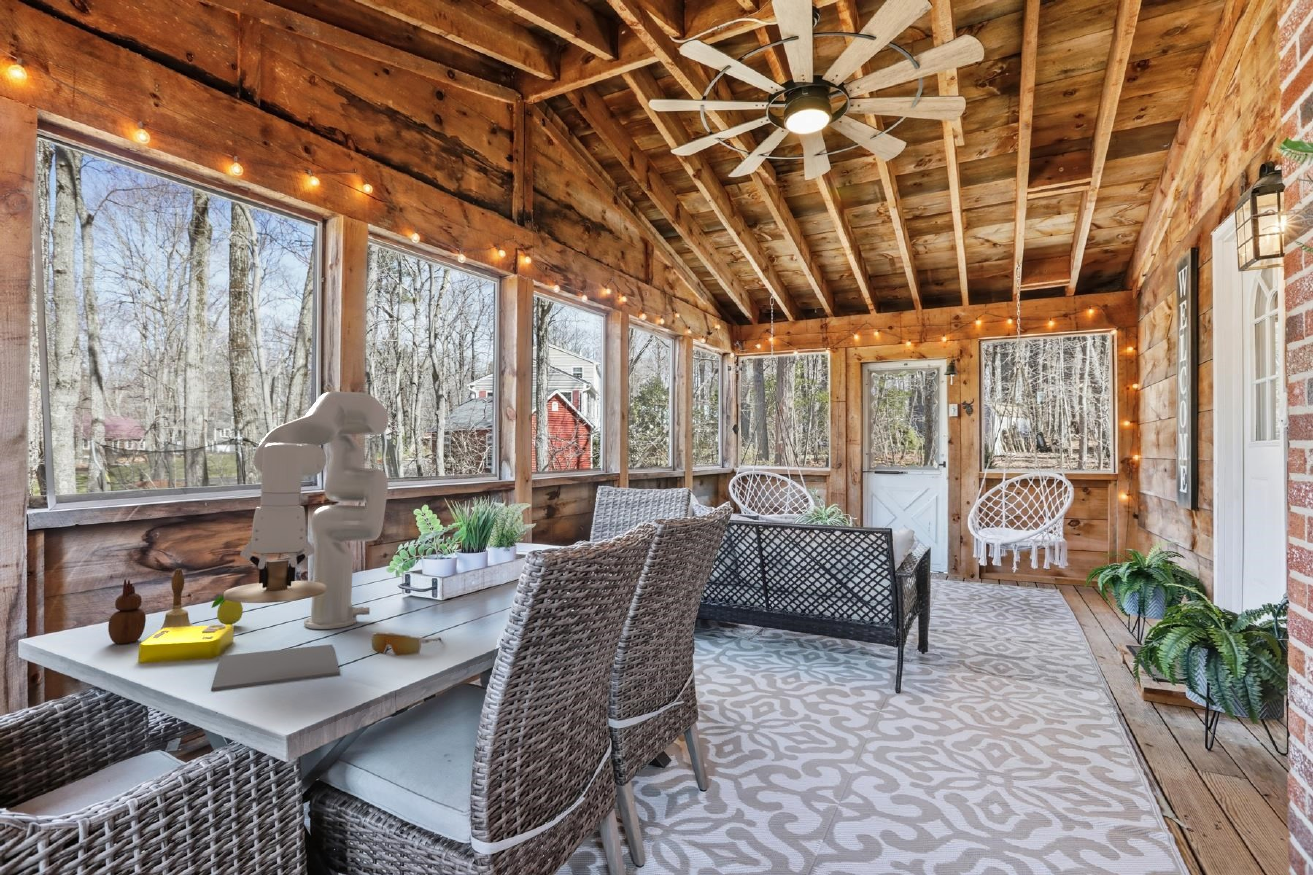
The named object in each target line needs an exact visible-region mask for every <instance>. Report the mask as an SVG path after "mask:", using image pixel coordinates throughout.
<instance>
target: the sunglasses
mask: <svg viewBox="0 0 1313 875" xmlns="http://www.w3.org/2000/svg"><path fill="white" fill-rule="evenodd" d="M438 641H439V642H441V641H442V638H441V637H436V638H421V637H419V636H411V635H408V634H399V633H394V632H393V633H392V632H376V633H374V632H373V633H372V634H371V648H372V651H373V652H377V653H379V654H382V655H385V654H387V652H388V649H389V648H390V649H391V651H392V653H393V655H394V656H408V655H409V656H410V655H417V654H420V652H421V648H422V644H428V643H430V642H438Z"/></svg>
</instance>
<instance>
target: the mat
mask: <svg viewBox="0 0 1313 875" xmlns="http://www.w3.org/2000/svg"><path fill="white" fill-rule="evenodd" d="M339 668H340V667H339V665H338V660H337V657H336V652H335V649H334V645H333V644H331V643H330V644H324V645H323V644H322V645H315V646H305V647H295V648H284V649H275V650H266V651H265V650H263V651H255V652H245V653H235V654H225V655H220V656H219V661H218V664H217V668H216V671H215V675H214V677H213V681H212V684H211V686H210V688H211V690H210V692H212V691H221V690H228V689H237V688H246V687H253V686H261V685H270V684H277V683H278V684H279V683H286V682H292V681H301V680H308V679H310V680H311V679H317V678H323V677H324V678H325V677H333V676H334V677H335V676H340V674H341V673H340V669H339Z"/></svg>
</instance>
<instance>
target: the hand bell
mask: <svg viewBox="0 0 1313 875" xmlns="http://www.w3.org/2000/svg"><path fill="white" fill-rule="evenodd" d="M184 587H185V575H184V572H183V570H182V568H176V569H174V573H173V575H172V578H171V591H172V593H173V600H172V609H171V610H169V611H167V612H166V613H165V617H164V620H163V624H162V626H161V628H160V629H159V630H161V629H163V628H168V627H188V626H193V625H192V623H191V622H190V619H189V611H188V610H186V609H184V608H182V593H183V590H184Z"/></svg>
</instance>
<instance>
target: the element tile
mask: <svg viewBox="0 0 1313 875" xmlns="http://www.w3.org/2000/svg"><path fill="white" fill-rule="evenodd" d="M234 628H235V626H234V624H232V625H226V624H210V625H192V626H188V627H168V628H163V629H161V628H160V629H161V630H160V629H159V630H158V631H156V632H154V633H153V634H152V635H149V636H148V637H147V638H145V639H144V640H143V641H142V642H141V641H140V643H139V644H138V659H137V662H138V663H139V664H149V663H150V664H151V663H152V664H153V663H166V662H168V663H169V662H181V661H182V662H183V661H196V660H197V661H198V660H199V661H200V660H210V659H215V658H218V657H221V656H222V654H224V652H225V651H226V650H227V649H228V648H229V647H230V646H231V645H232V644H233V643H234V633H235V629H234Z"/></svg>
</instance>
